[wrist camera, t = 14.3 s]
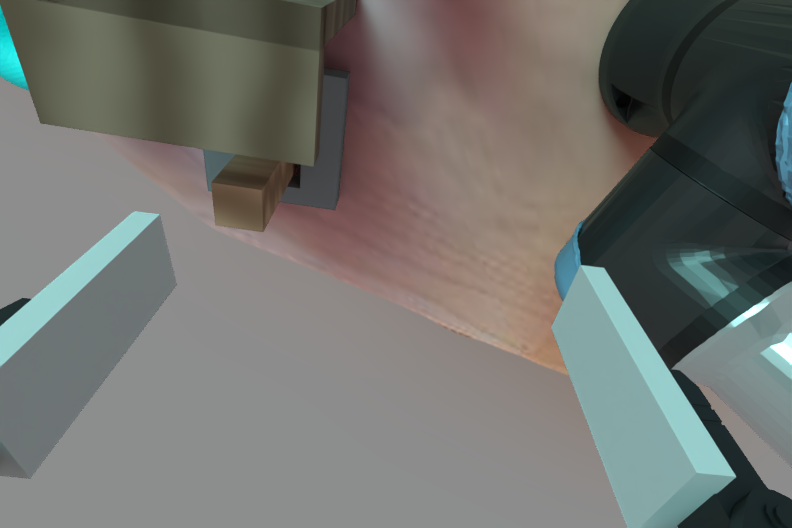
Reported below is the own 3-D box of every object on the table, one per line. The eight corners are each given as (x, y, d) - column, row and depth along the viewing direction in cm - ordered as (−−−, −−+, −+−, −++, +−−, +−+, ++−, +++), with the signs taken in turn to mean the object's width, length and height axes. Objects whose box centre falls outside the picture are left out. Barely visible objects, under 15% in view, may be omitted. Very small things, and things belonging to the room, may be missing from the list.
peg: (297, 167, 47) (263, 232, 36) (261, 161, 47) (215, 225, 35) (297, 132, 45) (261, 190, 33) (260, 126, 44) (210, 182, 33)
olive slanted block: (357, -12, 37) (321, 7, 21) (348, 87, 42) (313, 166, 26) (172, -48, 36) (-21, -58, 19) (185, 59, 40) (40, 123, 24)
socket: (350, 72, 41) (346, 78, 38) (338, 197, 49) (335, 210, 47) (205, 46, 40) (192, 51, 37) (218, 179, 48) (208, 191, 45)
